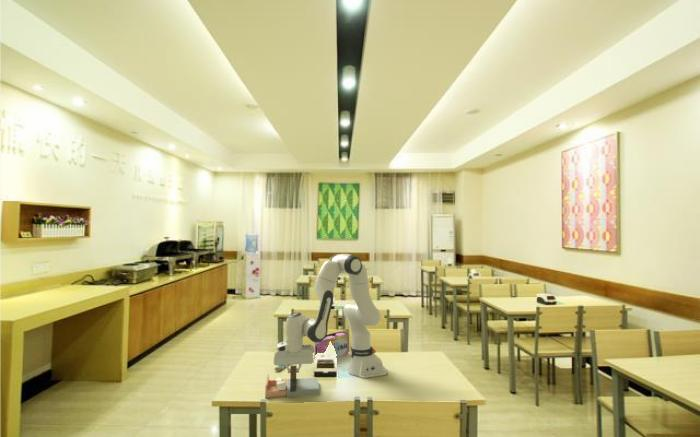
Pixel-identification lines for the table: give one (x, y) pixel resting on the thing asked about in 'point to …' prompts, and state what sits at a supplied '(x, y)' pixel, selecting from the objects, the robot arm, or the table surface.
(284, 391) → the box
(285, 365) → the flamethrower
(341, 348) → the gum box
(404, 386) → the table surface
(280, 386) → the tile
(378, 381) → the table surface
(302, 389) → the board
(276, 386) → the tile
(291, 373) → the scraper
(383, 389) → the table surface
